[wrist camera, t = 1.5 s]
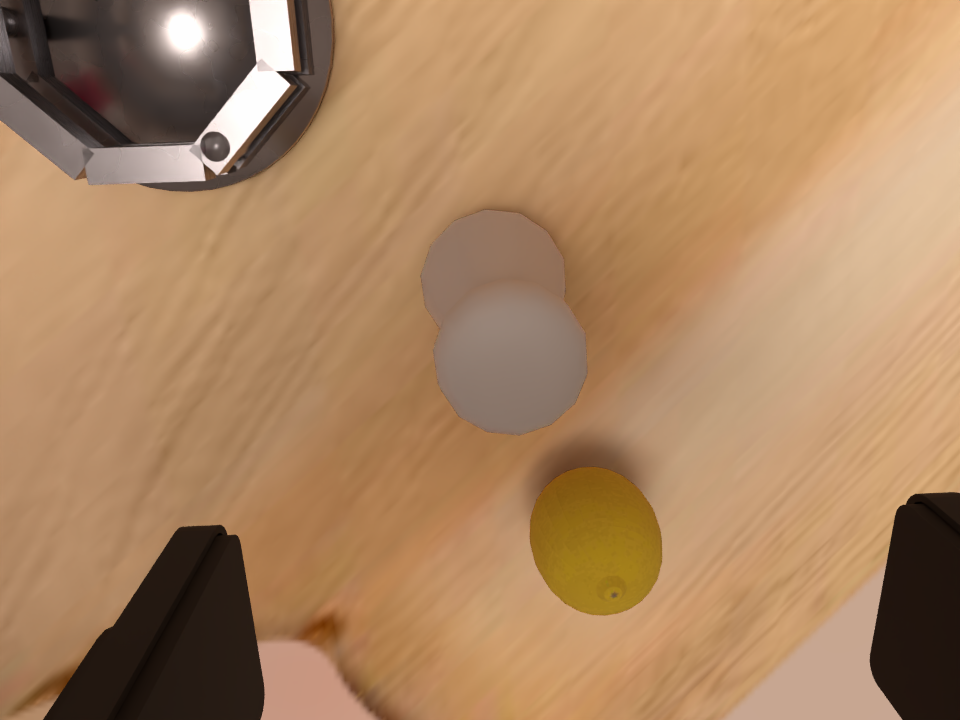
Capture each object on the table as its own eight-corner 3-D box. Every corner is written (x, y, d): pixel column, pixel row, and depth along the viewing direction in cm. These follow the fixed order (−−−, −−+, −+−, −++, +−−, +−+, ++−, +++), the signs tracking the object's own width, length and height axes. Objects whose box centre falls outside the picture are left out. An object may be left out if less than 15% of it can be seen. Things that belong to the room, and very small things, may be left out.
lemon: (552, 556, 36) (579, 675, 29) (502, 470, 35) (516, 571, 27) (653, 509, 36) (707, 618, 28) (607, 419, 34) (651, 508, 26)
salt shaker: (581, 290, 32) (661, 406, 20) (470, 357, 33) (481, 508, 20) (512, 174, 30) (553, 221, 18) (397, 248, 31) (361, 341, 19)
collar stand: (348, 184, 30) (329, 198, 26) (44, 195, 30) (-30, 211, 25) (316, -172, 26) (287, -230, 21) (-37, -163, 26) (-142, -221, 21)
